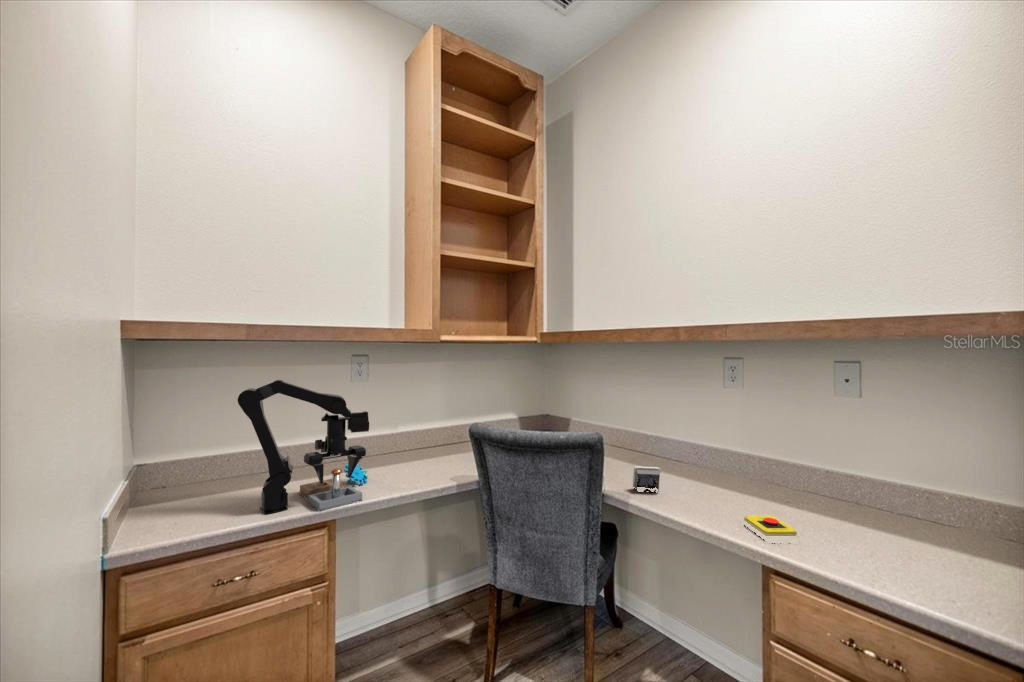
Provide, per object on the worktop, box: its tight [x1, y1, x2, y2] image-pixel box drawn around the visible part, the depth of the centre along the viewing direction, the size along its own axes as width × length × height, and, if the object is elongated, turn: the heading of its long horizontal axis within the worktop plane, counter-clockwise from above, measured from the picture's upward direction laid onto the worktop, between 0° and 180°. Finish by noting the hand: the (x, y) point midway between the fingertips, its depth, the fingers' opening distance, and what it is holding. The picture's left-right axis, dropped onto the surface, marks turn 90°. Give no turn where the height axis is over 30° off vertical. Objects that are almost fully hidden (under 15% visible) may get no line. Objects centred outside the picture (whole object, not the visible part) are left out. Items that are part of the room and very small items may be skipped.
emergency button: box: [743, 515, 798, 536], centre depth 125 cm, size 9×4×15 cm
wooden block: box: [299, 478, 344, 500], centre depth 155 cm, size 12×8×3 cm, turn 134°
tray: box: [307, 485, 363, 512], centre depth 146 cm, size 14×10×2 cm
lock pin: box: [330, 467, 343, 499], centre depth 146 cm, size 3×3×10 cm
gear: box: [343, 463, 369, 486], centre depth 166 cm, size 11×6×10 cm
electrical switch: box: [632, 465, 661, 491], centre depth 159 cm, size 9×5×9 cm, turn 83°
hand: (335, 480), depth 146 cm, fingers open, 9 cm apart
